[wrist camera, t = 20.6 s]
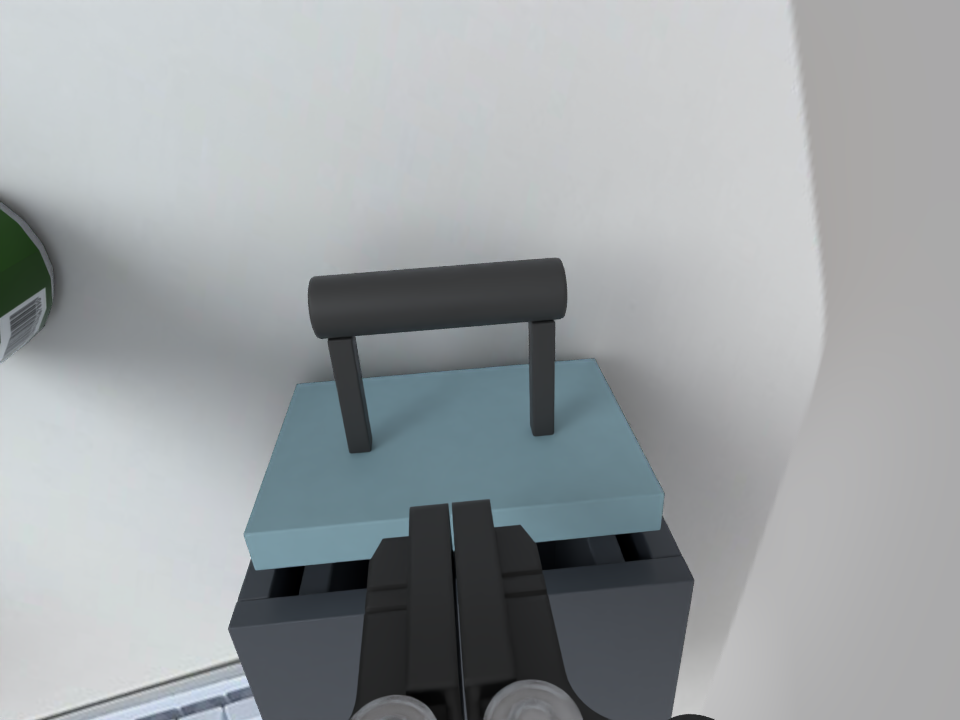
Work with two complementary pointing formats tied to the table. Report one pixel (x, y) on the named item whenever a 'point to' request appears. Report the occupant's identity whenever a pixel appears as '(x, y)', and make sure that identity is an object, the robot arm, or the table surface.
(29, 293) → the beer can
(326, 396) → the drawer
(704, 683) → the table surface
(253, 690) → the dark grey storage bin
